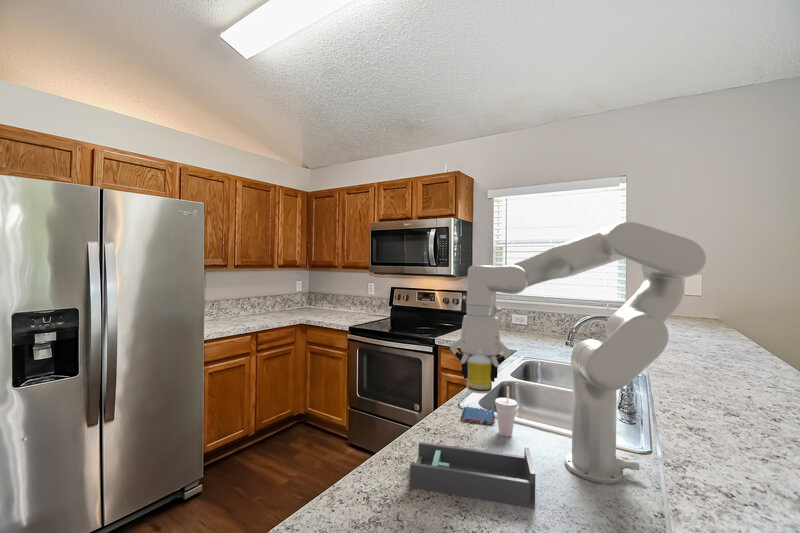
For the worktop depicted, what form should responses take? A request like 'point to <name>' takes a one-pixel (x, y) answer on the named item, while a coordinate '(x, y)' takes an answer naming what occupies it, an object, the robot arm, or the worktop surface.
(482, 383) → the pill bottle
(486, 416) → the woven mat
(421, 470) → the tray
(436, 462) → the pusher paddle
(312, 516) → the worktop surface
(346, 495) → the worktop surface
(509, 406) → the smoothie
